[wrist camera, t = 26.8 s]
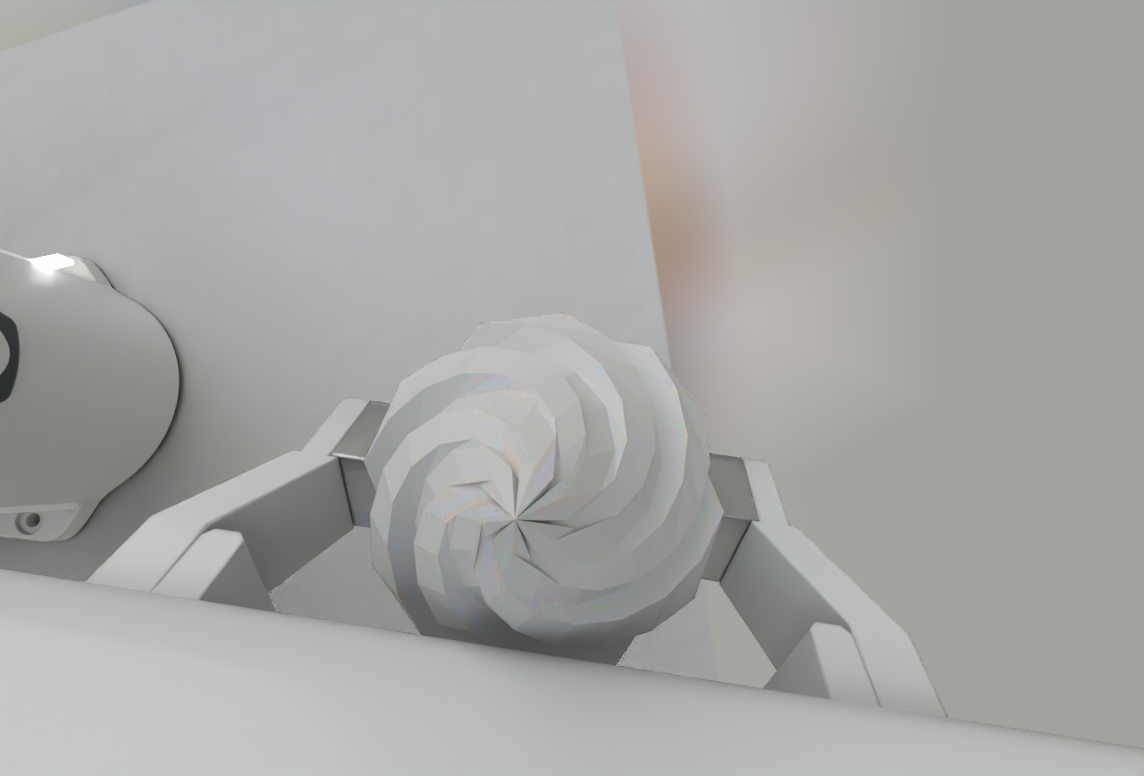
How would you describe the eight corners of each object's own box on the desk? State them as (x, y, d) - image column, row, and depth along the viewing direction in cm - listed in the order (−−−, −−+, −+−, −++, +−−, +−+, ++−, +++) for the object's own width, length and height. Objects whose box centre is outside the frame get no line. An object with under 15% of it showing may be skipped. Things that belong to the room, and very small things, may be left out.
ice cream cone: (451, 445, 18) (-65, 363, 3) (582, 370, 19) (657, 4, 4) (525, 583, 17) (304, 1274, 3) (660, 501, 18) (1126, 684, 3)
